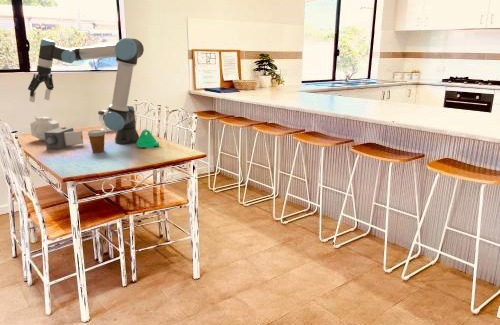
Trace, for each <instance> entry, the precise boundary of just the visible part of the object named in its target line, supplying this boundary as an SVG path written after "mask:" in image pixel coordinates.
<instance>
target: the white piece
mask: <svg viewBox="0 0 500 325" xmlns="http://www.w3.org/2000/svg"><path fill="white" fill-rule="evenodd" d="M97 113H98V121H99V122H100V123H101V127H102V128H101V129H99V130H104V132H105V133H107V132H114V131H113V130H110V129H109V128H108V127H107V126H106V125H105V123H104V117H105V115H106V114H107V113H108V108H107V109H102V110H98V112H97Z"/></svg>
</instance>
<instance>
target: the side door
mask: <svg viewBox="0 0 500 325" xmlns="http://www.w3.org/2000/svg"><path fill="white" fill-rule="evenodd" d="M83 135H84V134H83V130H74V132H66V133H64V139H65V146H67V147H69V146H68V145H70V146H73V145H74V146H75V145H76V146H77V145H83V144H84V137H83Z"/></svg>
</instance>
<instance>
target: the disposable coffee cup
mask: <svg viewBox="0 0 500 325" xmlns="http://www.w3.org/2000/svg"><path fill="white" fill-rule="evenodd" d="M87 135H88V138H89V143H90V145H91V151H92V152H93V153H94V154H97V153H100V154H101V153H103V152H105V135H106V132H104V130H100V129H92V130H89V131H88V132H87Z"/></svg>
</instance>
